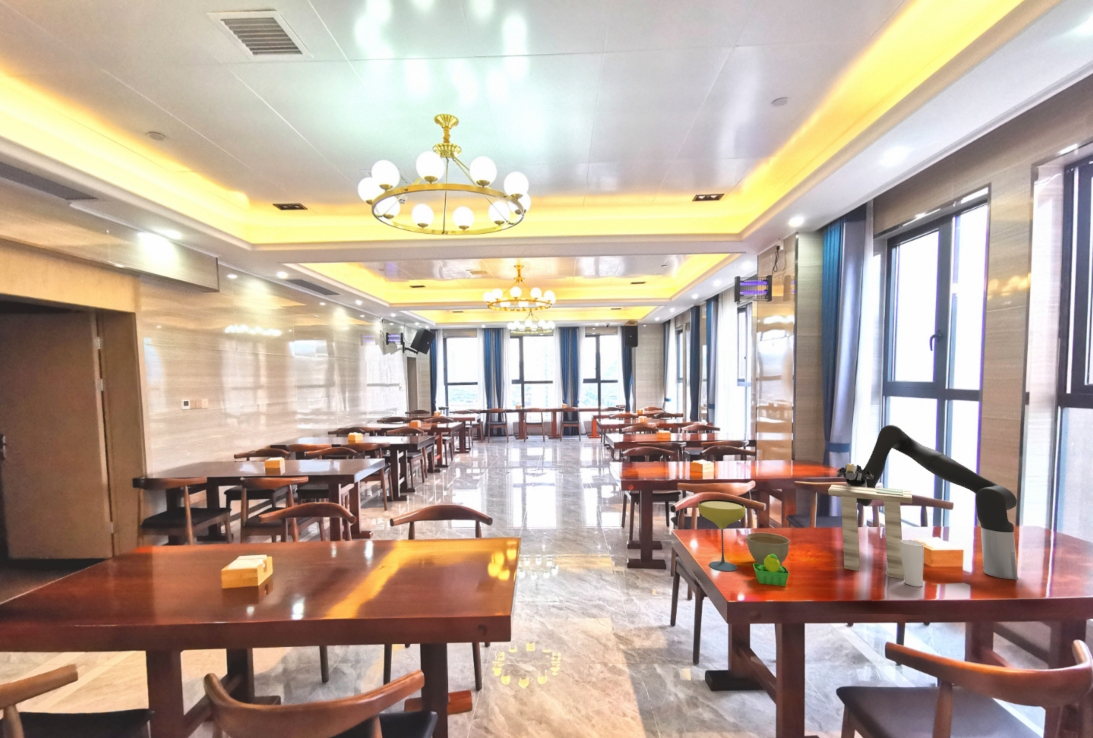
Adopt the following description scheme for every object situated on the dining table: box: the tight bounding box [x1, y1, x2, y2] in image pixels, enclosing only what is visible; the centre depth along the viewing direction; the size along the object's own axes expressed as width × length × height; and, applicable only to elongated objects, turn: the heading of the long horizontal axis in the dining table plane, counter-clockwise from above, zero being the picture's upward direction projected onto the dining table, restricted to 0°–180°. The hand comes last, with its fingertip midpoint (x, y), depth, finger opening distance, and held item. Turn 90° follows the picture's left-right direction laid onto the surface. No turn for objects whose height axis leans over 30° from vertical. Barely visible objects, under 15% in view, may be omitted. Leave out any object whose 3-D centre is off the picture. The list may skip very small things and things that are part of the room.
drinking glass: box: [900, 539, 925, 588], centre depth 169 cm, size 7×7×15 cm
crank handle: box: [845, 463, 858, 480], centre depth 188 cm, size 22×3×6 cm, turn 143°
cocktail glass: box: [697, 499, 746, 572], centre depth 189 cm, size 18×18×25 cm
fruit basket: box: [752, 554, 790, 587], centre depth 172 cm, size 11×9×11 cm
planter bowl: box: [745, 532, 790, 566], centre depth 190 cm, size 16×16×11 cm
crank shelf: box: [827, 484, 913, 580], centre depth 179 cm, size 14×26×32 cm, turn 53°
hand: (853, 466), depth 193 cm, fingers closed on crank handle, 2 cm apart
